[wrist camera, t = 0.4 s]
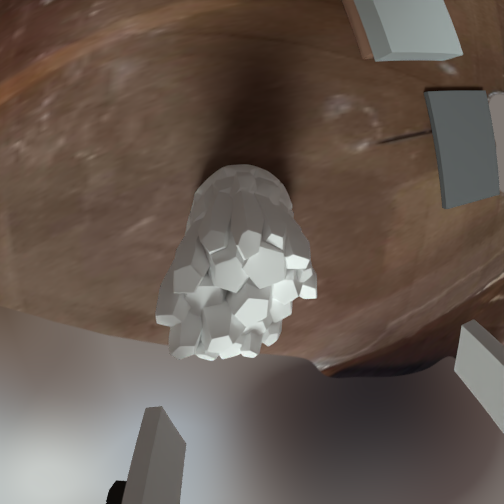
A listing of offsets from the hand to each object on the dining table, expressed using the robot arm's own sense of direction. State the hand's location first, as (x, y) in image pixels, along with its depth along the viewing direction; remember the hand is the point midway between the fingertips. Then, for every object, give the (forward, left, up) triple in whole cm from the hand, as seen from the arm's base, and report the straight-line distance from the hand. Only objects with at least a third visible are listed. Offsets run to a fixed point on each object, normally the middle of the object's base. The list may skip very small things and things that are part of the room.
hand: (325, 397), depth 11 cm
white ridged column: (-3, -2, -27) cm, 27 cm away
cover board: (-24, +21, -22) cm, 39 cm away
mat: (-5, +31, -27) cm, 41 cm away
